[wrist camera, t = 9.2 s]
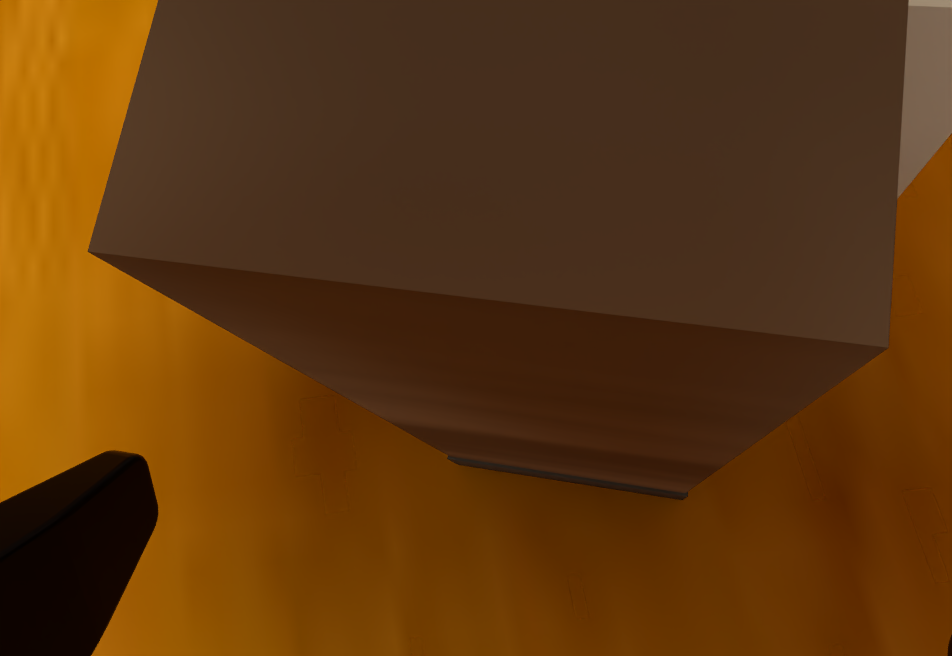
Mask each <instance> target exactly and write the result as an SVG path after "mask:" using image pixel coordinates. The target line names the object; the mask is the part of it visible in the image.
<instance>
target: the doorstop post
mask: <svg viewBox="0 0 952 656" xmlns="http://www.w3.org/2000/svg"><path fill="white" fill-rule="evenodd" d="M908 4H909V0H158V4H157V7H156V11H155V14H154V18H153V21H152V25H151V29H150V32H149V36H148V39H147V43H146V46H145V50H144V53H143V57H142V60H141V64H140V68H139V71H138V75H137V78H136V82H135V85H134V89H133V92H132V96H131V100H130V103H129V107H128V110H127V114H126V117H125V121H124V124H123V128H122V131H121V135H120V139H119V142H118V146H117V149H116V153H115V156H114V160H113V163H112V167H111V171H110V174H109V178H108V181H107V185H106V188H105V192H104V195H103V199H102V202H101V206H100V210H99V213H98V217H97V220H96V224H95V227H94V231H93V234H92V238H91V242H90V245H89V249H88V252H89V253H91V254H93V255H95V256H96V257H98V258H100V259H102V260H103V261H105V262H107V263H109V264H111V265H112V266H114V267H116V268H118V269H119V270H121V271H123V272H125V273H126V274H128V275H130V276H132V277H134V278H135V279H137V280H139V281H141V282H142V283H144V284H146V285H148V286H149V287H151V288H153V289H155V290H157V291H158V292H160V293H162V294H164V295H165V296H167V297H169V298H171V299H172V300H174V301H176V302H178V303H180V304H181V305H183V306H185V307H187V308H188V309H190V310H192V311H194V312H195V313H197V314H199V315H201V316H203V317H204V318H206V319H208V320H210V321H211V322H213V323H215V324H217V325H218V326H220V327H222V328H224V329H226V330H227V331H229V332H231V333H233V334H234V335H236V336H238V337H240V338H241V339H243V340H245V341H247V342H249V343H250V344H252V345H254V346H256V347H257V348H259V349H261V350H263V351H264V352H266V353H268V354H270V355H272V356H273V357H275V358H277V359H279V360H280V361H282V362H284V363H286V364H287V365H289V366H291V367H293V368H295V369H296V370H298V371H300V372H302V373H303V374H305V375H307V376H309V377H310V378H312V379H314V380H316V381H318V382H319V383H321V384H323V385H325V386H326V387H328V388H330V389H332V390H333V391H335V392H337V393H339V394H341V395H342V396H344V397H346V398H348V399H349V400H351V401H353V402H355V403H356V404H358V405H360V406H362V407H364V408H365V409H367V410H369V411H371V412H372V413H374V414H376V415H378V416H379V417H381V418H383V419H385V420H387V421H388V422H390V423H392V424H394V425H395V426H397V427H399V428H401V429H403V430H404V431H406V432H408V433H410V434H411V435H413V436H415V437H417V438H418V439H420V440H422V441H424V442H426V443H427V444H429V445H431V446H433V447H434V448H436V449H438V450H440V451H441V452H443V453H445V454H447V455H448V459H449V460H451V461H452V462H454V463H456V464H458V465H464V466H470V467H476V468H483V469H489V470H495V471H502V472H508V473H515V474H521V475H527V476H534V477H540V478H546V479H553V480H559V481H565V482H572V483H578V484H584V485H591V486H597V487H603V488H610V489H616V490H622V491H629V492H635V493H641V494H648V495H654V496H660V497H667V498H673V499H679V500H683V499H684V498H686V497H688V491H689V490H690V489H692V488H693V487H695V486H696V485H697V484H699V483H700V482H702V481H703V480H704V479H706V478H707V477H709V476H710V475H711V474H713V473H714V472H715V471H717V470H718V469H720V468H721V467H722V466H724V465H725V464H727V463H728V462H729V461H731V460H732V459H734V458H735V457H736V456H738V455H739V454H741V453H742V452H743V451H745V450H746V449H748V448H749V447H750V446H752V445H753V444H755V443H756V442H757V441H759V440H760V439H762V438H763V437H764V436H766V435H767V434H769V433H770V432H771V431H773V430H774V429H776V428H777V427H778V426H780V425H781V424H782V423H784V422H785V421H787V420H788V419H789V418H791V417H792V416H794V415H795V414H796V413H798V412H799V411H801V410H802V409H803V408H805V407H806V406H808V405H809V404H810V403H812V402H813V401H815V400H816V399H817V398H819V397H820V396H822V395H823V394H824V393H826V392H827V391H829V390H830V389H831V388H833V387H834V386H836V385H837V384H838V383H840V382H841V381H843V380H844V379H845V378H847V377H848V376H849V375H851V374H852V373H854V372H855V371H856V370H858V369H859V368H861V367H862V366H863V365H865V364H866V363H868V362H869V361H870V360H872V359H873V358H875V357H876V356H877V355H879V354H880V353H882V352H883V351H884V350H886V349H887V348H888V346H889V329H890V312H891V295H892V278H893V261H894V244H895V226H896V209H897V192H898V175H899V158H900V141H901V124H902V106H903V89H904V72H905V55H906V38H907V21H908Z"/></svg>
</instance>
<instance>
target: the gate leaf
mask: <svg viewBox="0 0 952 656" xmlns="http://www.w3.org/2000/svg"><path fill="white" fill-rule="evenodd" d="M951 133H952V0H909V4H908V21H907V38H906V55H905V72H904V89H903V106H902V124H901V141H900V158H899V175H898V192H897V199H898V197H899V196H900V195H901V194H902V193H903V191H904V190H905V189H906V188H907V187H908V185H909V184H910V183H911V182H912V180H913V179H914V178H915V177H916V176H917V174H918V173H919V172H920V171H921V170H922V168H923V167H924V166H925V165H926V164H927V162H928V161H929V160H930V159H931V157H932V156H933V155H934V154H935V153H936V151H937V150H938V149H939V148H940V147H941V145H942V144H943V143H944V142H945V141H946V139H947V138H948V137H949V136H950V134H951Z"/></svg>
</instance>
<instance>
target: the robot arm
mask: <svg viewBox="0 0 952 656" xmlns="http://www.w3.org/2000/svg"><path fill="white" fill-rule="evenodd" d="M157 518H158V504H157V500H156V496H155V492H154V488H153V483H152V479H151V475H150V471H149V467H148V464H147V461H146V460H145V459H144V458H143V456H141V455H139V454H135V453H128V452H122V451H106V452H104V453H101V454H99V455H97V456H95V457H93V458H91V459H89V460H87V461H85V462H83V463H81V464H79V465H77V466H75V467H73V468H71V469H69V470H66V471H64V472H62V473H60V474H58V475H56V476H54V477H52V478H50V479H48V480H46V481H44V482H42V483H40V484H38V485H36V486H34V487H32V488H29V489H27V490H25V491H23V492H21V493H19V494H17V495H15V496H13V497H11V498H9V499H7V500H5V501H3V502H1V503H0V656H91V655H92V653H93V651H94V650H95V648H96V646H97V644H98V643H99V641H100V639H101V637H102V635H103V633H104V631H105V629H106V628H107V626H108V624H109V622H110V620H111V618H112V616H113V613H114V611H115V609H116V607H117V605H118V603H119V601H120V599H121V597H122V595H123V593H124V591H125V589H126V586H127V584H128V582H129V580H130V578H131V576H132V574H133V572H134V570H135V568H136V566H137V564H138V562H139V560H140V557H141V555H142V553H143V551H144V549H145V547H146V545H147V543H148V541H149V539H150V537H151V535H152V533H153V531H154V528H155V526H156V522H157ZM948 656H952V635H951V638H950V641H949V646H948Z"/></svg>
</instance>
